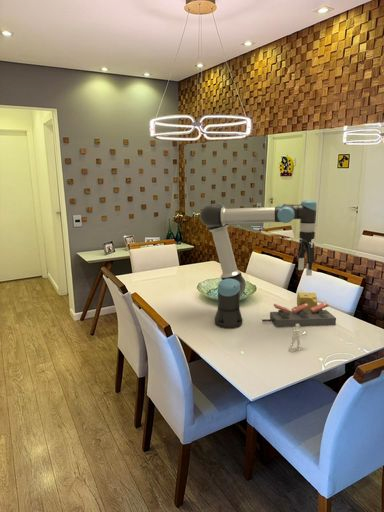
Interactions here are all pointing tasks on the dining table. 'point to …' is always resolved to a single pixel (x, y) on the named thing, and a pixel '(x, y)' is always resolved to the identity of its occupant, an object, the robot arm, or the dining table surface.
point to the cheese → (307, 299)
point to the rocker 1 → (282, 308)
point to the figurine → (296, 338)
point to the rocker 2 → (300, 308)
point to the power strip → (301, 318)
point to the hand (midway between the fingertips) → (304, 272)
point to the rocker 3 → (319, 307)
